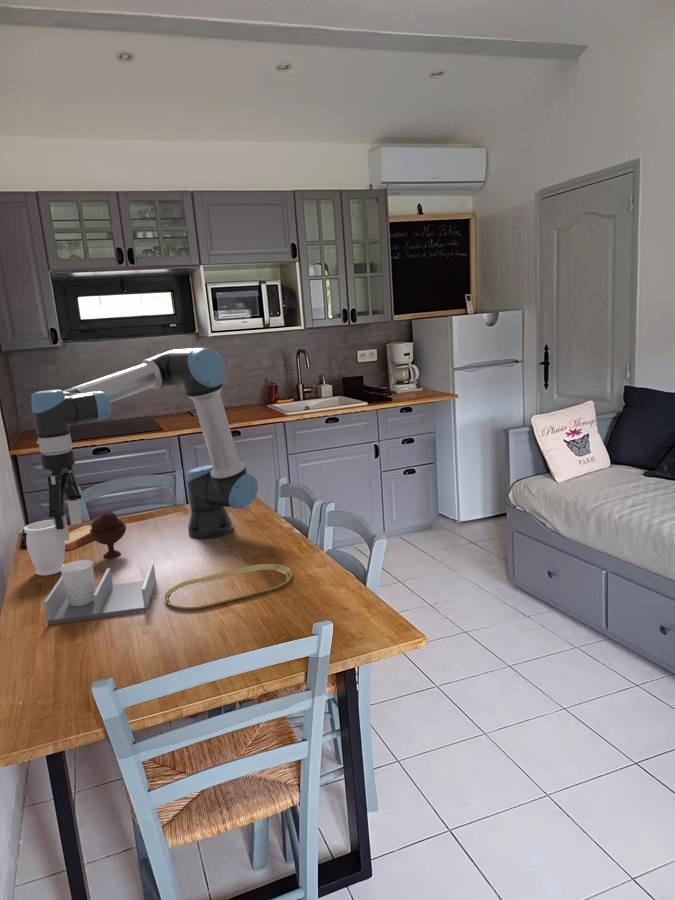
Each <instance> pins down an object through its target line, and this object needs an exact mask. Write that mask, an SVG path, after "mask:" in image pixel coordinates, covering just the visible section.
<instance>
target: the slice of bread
mask: <svg viewBox="0 0 675 900" xmlns="http://www.w3.org/2000/svg"><path fill="white" fill-rule="evenodd" d="M91 525H92V524H91ZM91 525H90V524H85V525H82V526H81V527H78V528H75V529H73V530H72V531H69V532H68V533H69V539H70V540H68V541H65V550H68V551H71V549H72V550H74V549H76V548H80V547H82V546H85V543H86V544H88V543H90V542H92V541H93V539H94V538H93V537H92V535H91V533H90V530H91ZM94 540H95V539H94ZM89 541H90V542H89ZM87 542H88V543H87ZM81 545H82V546H81ZM79 546H80V547H79Z"/></svg>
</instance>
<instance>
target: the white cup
mask: <svg viewBox="0 0 675 900" xmlns="http://www.w3.org/2000/svg"><path fill="white" fill-rule="evenodd" d="M93 563H94V562H93V561H92V560H89V559H82V560H81V559H80V560H75V561H71V562H68V563H66V564H64V566H62V567H61V569H60V570H61V572H60V573H61V576H62V578H63V583H64V587H65V591H66V595H67V597H68V602H69V605H71V606H83V605H86V604H89V603H91V602H93V601H94V597H93V595H94V593H95V587H96V584H95V583H96V582H95V581H96V580H95V571H94V565H93Z"/></svg>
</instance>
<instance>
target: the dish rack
mask: <svg viewBox="0 0 675 900" xmlns="http://www.w3.org/2000/svg"><path fill="white" fill-rule="evenodd" d="M146 572H147V573H146V575H145V578H144V580H140V581H132V582H131V581H130V582H124V583H116V584H114V583H113V578H112V573H111V568H110V567H109V568H106V569H105V572H104V574H103V576H102V578H101V580H100V582H99V584H98V585H97V586H95V593H94V595H93V597H94V601H93V602H91V603H89V604H86V605H83V606H71V605H69V602H68V597H67V595H66V591H65V587H64V583H63V578H62V575H61V576H60V578H59V579H58V580H57V582H56V583H55V585H54V586H53V588H52V590H51V591H50V592H49V594H48V595H47V597H46V598H45V600H44V601H43V605H44V611H45V615H46V616H45V617H46V620H47V621H46V622H47V625H48V626H49V625H57V624H65V623H72V622H79V621H87V620H95V619H102V618H108V617H107V616H110V617H116V616H115V615H117V616H123V615H122V614H125V615H129V613H132V614H135V613H134V612H139V613H141V612H140V611H147V610H148V609H150V607H149V605H150V606H151V603H152V600H153V597H152V595H153V596H154V593H155V590H156V586H157V577H156V570H155V563H154V562H150V564H149V567H148V569H147V571H146ZM154 589H155V590H154ZM153 592H154V593H153ZM151 599H152V600H151ZM150 602H151V603H150ZM148 611H149V610H148ZM148 611H147V612H148Z"/></svg>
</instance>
